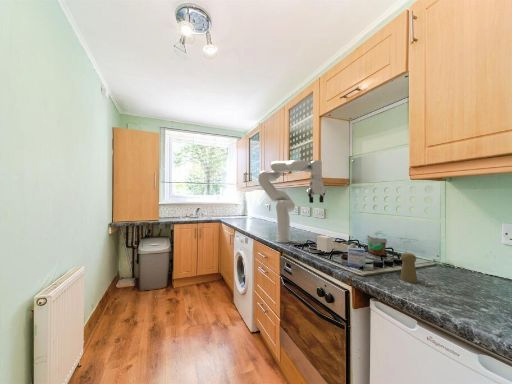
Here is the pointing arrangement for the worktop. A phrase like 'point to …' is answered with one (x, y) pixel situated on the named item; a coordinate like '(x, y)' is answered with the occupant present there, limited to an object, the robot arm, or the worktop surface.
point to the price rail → (340, 246)
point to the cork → (408, 268)
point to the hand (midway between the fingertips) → (316, 202)
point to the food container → (376, 246)
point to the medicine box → (356, 257)
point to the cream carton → (324, 243)
